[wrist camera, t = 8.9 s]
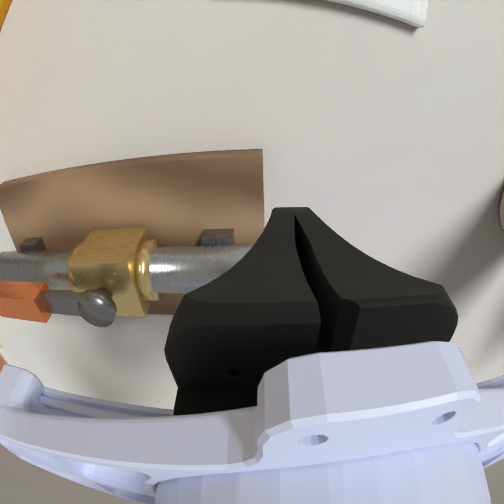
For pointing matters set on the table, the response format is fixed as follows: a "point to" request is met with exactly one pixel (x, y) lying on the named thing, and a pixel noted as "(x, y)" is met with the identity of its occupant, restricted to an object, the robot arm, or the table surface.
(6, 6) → the packaging box
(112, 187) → the base board
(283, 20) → the table surface
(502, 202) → the travel mug
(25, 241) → the valve pipe
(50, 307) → the valve lever
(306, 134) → the table surface
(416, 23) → the external hard drive
